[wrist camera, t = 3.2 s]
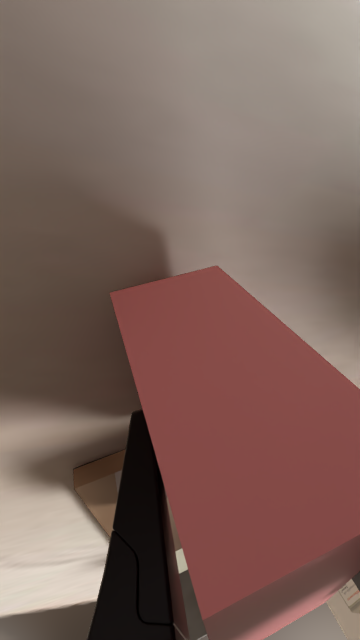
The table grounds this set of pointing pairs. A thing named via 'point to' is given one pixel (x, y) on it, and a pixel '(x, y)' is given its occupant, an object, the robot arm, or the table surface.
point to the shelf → (100, 497)
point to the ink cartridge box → (347, 609)
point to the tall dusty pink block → (246, 449)
